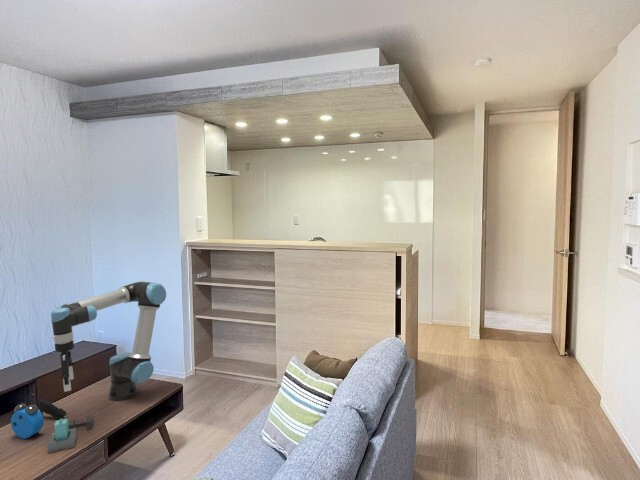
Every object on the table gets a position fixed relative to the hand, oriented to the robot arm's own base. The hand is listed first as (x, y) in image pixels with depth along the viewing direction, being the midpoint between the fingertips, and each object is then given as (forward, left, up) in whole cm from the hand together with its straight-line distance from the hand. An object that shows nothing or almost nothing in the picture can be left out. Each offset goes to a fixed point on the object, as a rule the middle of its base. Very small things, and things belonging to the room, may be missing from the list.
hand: (69, 384), depth 197 cm
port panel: (+3, +11, -23) cm, 25 cm away
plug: (+3, +11, -22) cm, 25 cm away
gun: (+11, -19, -23) cm, 32 cm away
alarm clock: (+19, -5, -23) cm, 30 cm away
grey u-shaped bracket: (-3, -1, -23) cm, 23 cm away
